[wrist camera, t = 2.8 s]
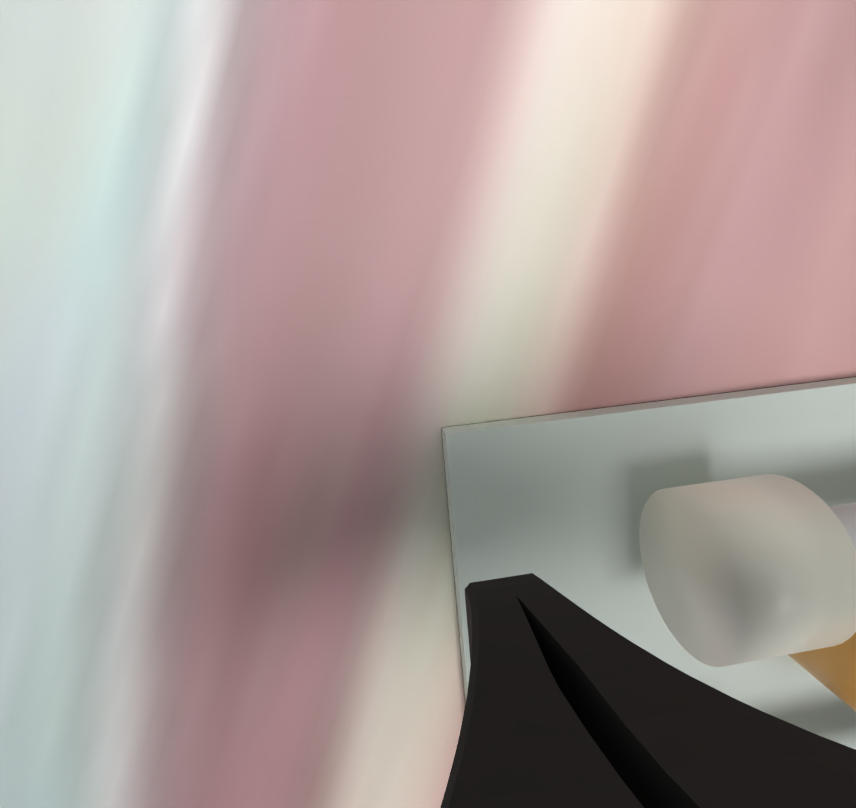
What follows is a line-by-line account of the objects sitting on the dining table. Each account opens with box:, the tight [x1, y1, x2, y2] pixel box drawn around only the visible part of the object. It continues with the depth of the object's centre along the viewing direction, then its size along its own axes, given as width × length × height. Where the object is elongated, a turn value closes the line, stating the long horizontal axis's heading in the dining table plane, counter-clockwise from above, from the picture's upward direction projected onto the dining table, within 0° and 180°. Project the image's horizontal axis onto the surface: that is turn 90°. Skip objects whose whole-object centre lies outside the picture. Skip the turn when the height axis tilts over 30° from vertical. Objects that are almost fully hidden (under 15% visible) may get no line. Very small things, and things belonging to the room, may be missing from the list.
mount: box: [442, 377, 856, 750], centre depth 12 cm, size 15×14×6 cm
